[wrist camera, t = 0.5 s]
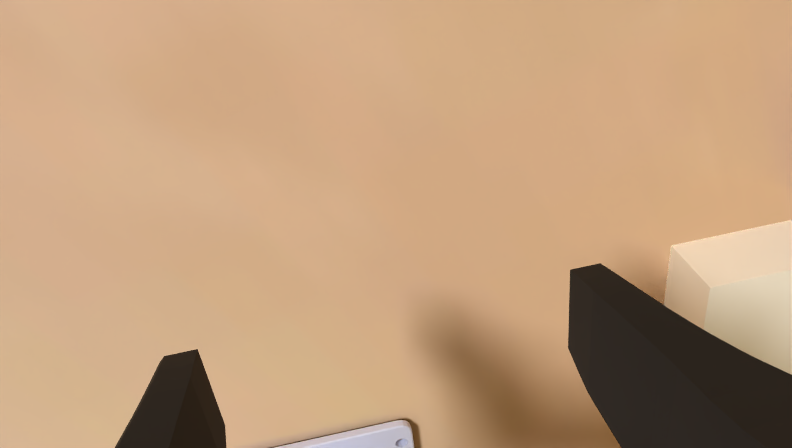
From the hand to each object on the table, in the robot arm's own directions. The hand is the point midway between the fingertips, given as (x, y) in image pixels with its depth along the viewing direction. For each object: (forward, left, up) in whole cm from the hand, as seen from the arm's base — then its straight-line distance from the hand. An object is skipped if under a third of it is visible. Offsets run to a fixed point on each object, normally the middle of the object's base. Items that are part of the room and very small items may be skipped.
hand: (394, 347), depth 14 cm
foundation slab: (-10, -15, -11) cm, 21 cm away
